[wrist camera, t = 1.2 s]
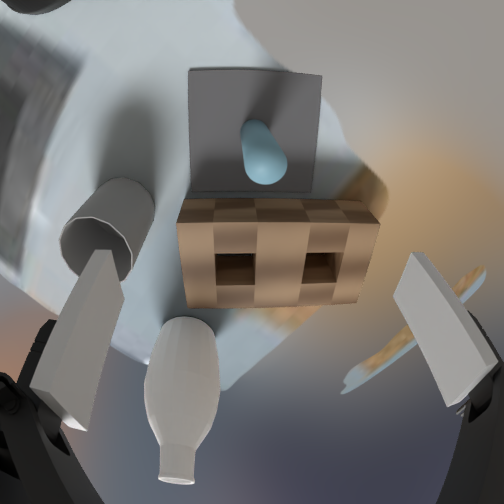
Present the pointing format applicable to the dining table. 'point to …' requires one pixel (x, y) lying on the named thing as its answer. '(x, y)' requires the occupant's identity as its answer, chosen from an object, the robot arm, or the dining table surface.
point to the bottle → (182, 394)
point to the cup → (109, 226)
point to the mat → (247, 108)
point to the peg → (261, 153)
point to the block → (274, 251)
